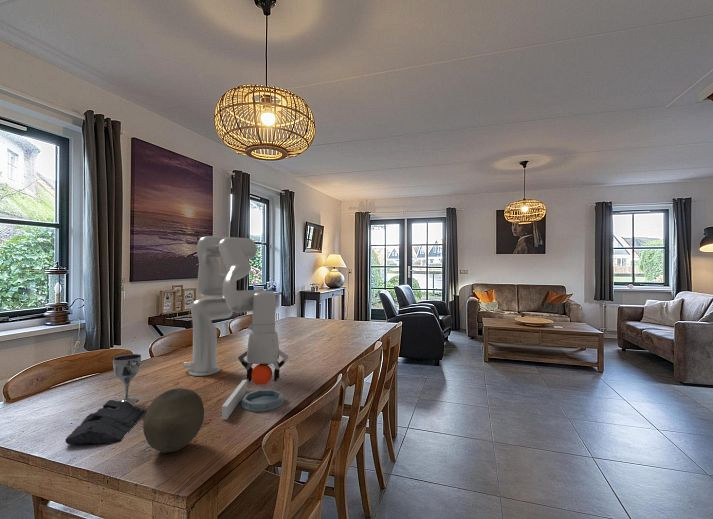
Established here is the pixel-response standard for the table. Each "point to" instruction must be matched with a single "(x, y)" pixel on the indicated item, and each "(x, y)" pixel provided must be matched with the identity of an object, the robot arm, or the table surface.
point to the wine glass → (127, 371)
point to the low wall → (234, 400)
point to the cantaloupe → (173, 419)
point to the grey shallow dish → (262, 400)
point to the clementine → (261, 374)
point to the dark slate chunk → (106, 424)
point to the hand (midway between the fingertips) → (263, 380)
